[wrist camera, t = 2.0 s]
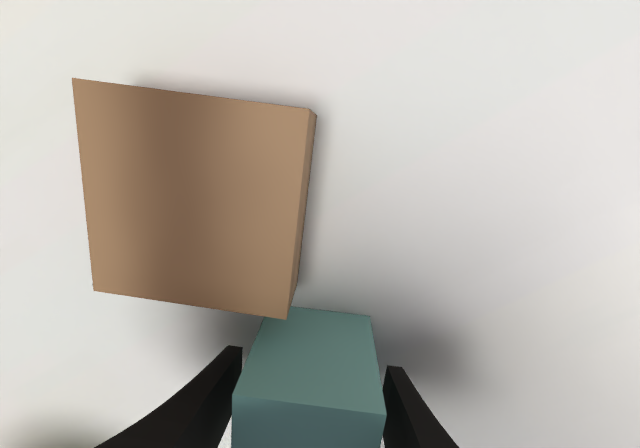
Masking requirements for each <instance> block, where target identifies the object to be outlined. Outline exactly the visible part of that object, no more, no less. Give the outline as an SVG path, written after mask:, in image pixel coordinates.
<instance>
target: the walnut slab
mask: <svg viewBox="0 0 640 448" xmlns="http://www.w3.org/2000/svg"><path fill="white" fill-rule="evenodd" d="M72 84H73V94H74V104H75V114H76V123H77V133H78V143H79V153H80V162H81V172H82V182H83V192H84V201H85V211H86V221H87V231H88V240H89V250H90V260H91V270H92V279H93V289H94V291H98V292H105V293H112V294H118V295H125V296H132V297H138V298H145V299H152V300H158V301H165V302H171V303H178V304H185V305H191V306H198V307H205V308H211V309H218V310H224V311H231V312H238V313H244V314H251V315H258V316H264V317H271V318H277V319H284V320H286V319H287V316H288V313H289V309H290V306H291V303H292V299H293V296H294V292H295V289H296V286H297V280H298V271H299V263H300V254H301V246H302V237H303V229H304V220H305V211H306V203H307V194H308V186H309V177H310V169H311V160H312V152H313V143H314V135H315V126H316V118H317V115H316V114H315V113H313V112H312V111H311V110H310V109H305V108H298V107H290V106H283V105H275V104H267V103H260V102H252V101H244V100H237V99H229V98H222V97H214V96H206V95H199V94H191V93H183V92H176V91H168V90H160V89H153V88H145V87H138V86H130V85H122V84H115V83H107V82H99V81H92V80H84V79H77V78H72Z"/></svg>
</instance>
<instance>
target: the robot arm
mask: <svg viewBox="0 0 640 448" xmlns="http://www.w3.org/2000/svg"><path fill="white" fill-rule="evenodd" d="M242 349H243V347H238V346H230V345H228V346H227V347H226V348H225V349H224V350H223V351H222V352H221V353H220V354H219V355H218V356H217V357H216V358H215V359H214V360H213V361H212V362H211V363H210V364H208V365H207V366H206V367H205V368H204V369H203V370H202V371H201V372H200V373H199V374H198V375H197V376H196V377H194V378H193V379H192V380H191V381H190V382H189V383H188V384H187V385H185V386H184V387H183V388H182V389H181V390H179V391H178V392H177V393H176V394H175V395H173V396H172V397H171V398H170V399H168V400H167V401H166V402H164V403H163V404H162V405H160V406H159V407H158V408H156V409H155V410H154V411H152V412H151V413H149V414H148V415H147V416H145V417H144V418H142V419H141V420H139V421H138V422H136V423H135V424H133V425H131V426H130V427H128V428H127V429H125V430H124V431H122V432H120V433H119V434H117V435H116V436H114V437H112V438H110V439H109V440H107V441H105V442H103V443H102V444H100V445H98V446H96V447H94V448H218V445H219V443H220V441H221V438H222V436H223V434H224V432H225V429H226V427H227V425H228V422H229V420H230V418H231V415H232V394H233V392H234V389H235V387H236V384H237V382H238V380H239V377H240V375H241V372H242ZM382 391H383V396H384V402H385V408H386V414H387V416H386V421H385V425H384V430H383V439H384V445H385V448H459V447H458V446H457V444H456V443H455V442H454V441H453V440H452V438H451V437H450V436H449V435H448V433H447V432H446V431H445V429H444V428H443V427H442V426H441V424H440V423H439V422H438V420H437V419H436V418H435V416H434V415H433V413H432V412H431V411H430V409H429V408H428V406H427V405H426V403H425V402H424V400H423V399H422V398H421V396H420V395H419V393H418V391H417V390H416V388H415V387H414V385H413V384H412V382H411V381H410V379H409V377H408V376H407V374H406V372H405V371H404V369H403V368H402V367H397V366H389V365H387V369H386V374H385V379H384V384H383V389H382Z"/></svg>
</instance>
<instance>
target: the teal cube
mask: <svg viewBox="0 0 640 448" xmlns="http://www.w3.org/2000/svg"><path fill="white" fill-rule="evenodd" d="M386 416H387V414H386V408H385V402H384V396H383V391H382V385H381V379H380V373H379V367H378V361H377V356H376V350H375V344H374V338H373V332H372V326H371V321H370V316H366V315H358V314H350V313H341V312H333V311H325V310H317V309H308V308H300V307H292V306H290V309H289V313H288V316H287V319H286V320H284V319H277V318H271V317H264V319H263V322H262V324H261V326H260V329H259V331H258V334H257V336H256V339H255V341H254V343H253V346H252V348H251V351H250V353H249V355H248V358H247V360H246V363H245V365H244V367H243V370H242V372H241V375H240V377H239V380H238V382H237V384H236V387H235V389H234V392H233V394H232V433H231V448H380V445H381V440H382V435H383V430H384V425H385V421H386Z"/></svg>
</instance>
